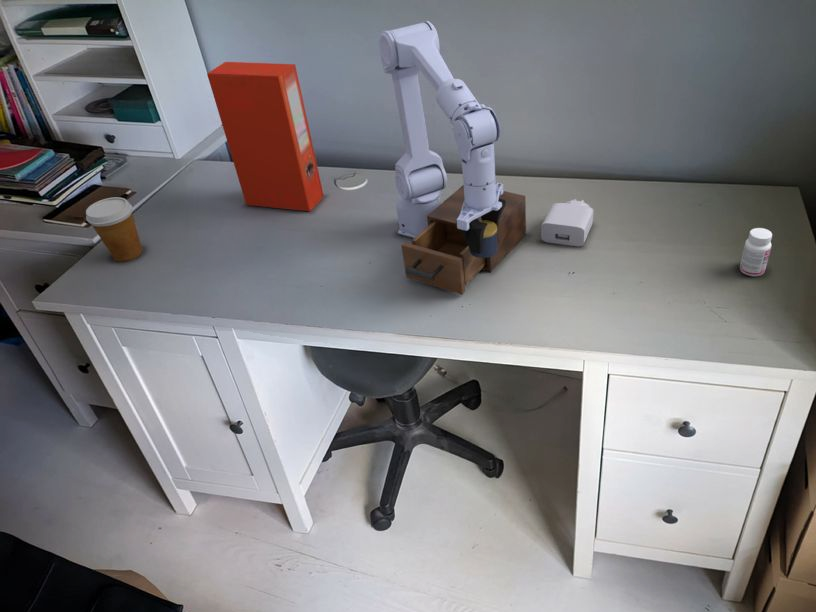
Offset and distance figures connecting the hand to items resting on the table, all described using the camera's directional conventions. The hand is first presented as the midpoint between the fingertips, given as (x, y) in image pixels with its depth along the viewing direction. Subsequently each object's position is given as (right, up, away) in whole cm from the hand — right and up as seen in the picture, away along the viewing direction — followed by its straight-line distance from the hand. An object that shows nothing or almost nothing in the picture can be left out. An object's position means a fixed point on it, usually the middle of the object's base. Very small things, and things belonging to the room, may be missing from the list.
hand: (483, 244), depth 134 cm
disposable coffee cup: (-80, +1, +26) cm, 84 cm away
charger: (+20, +7, +22) cm, 30 cm away
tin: (0, -1, +1) cm, 1 cm away
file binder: (-48, +16, +40) cm, 64 cm away
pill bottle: (+53, -4, +5) cm, 54 cm away
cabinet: (0, +3, +18) cm, 19 cm away
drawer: (-7, -4, +10) cm, 13 cm away
